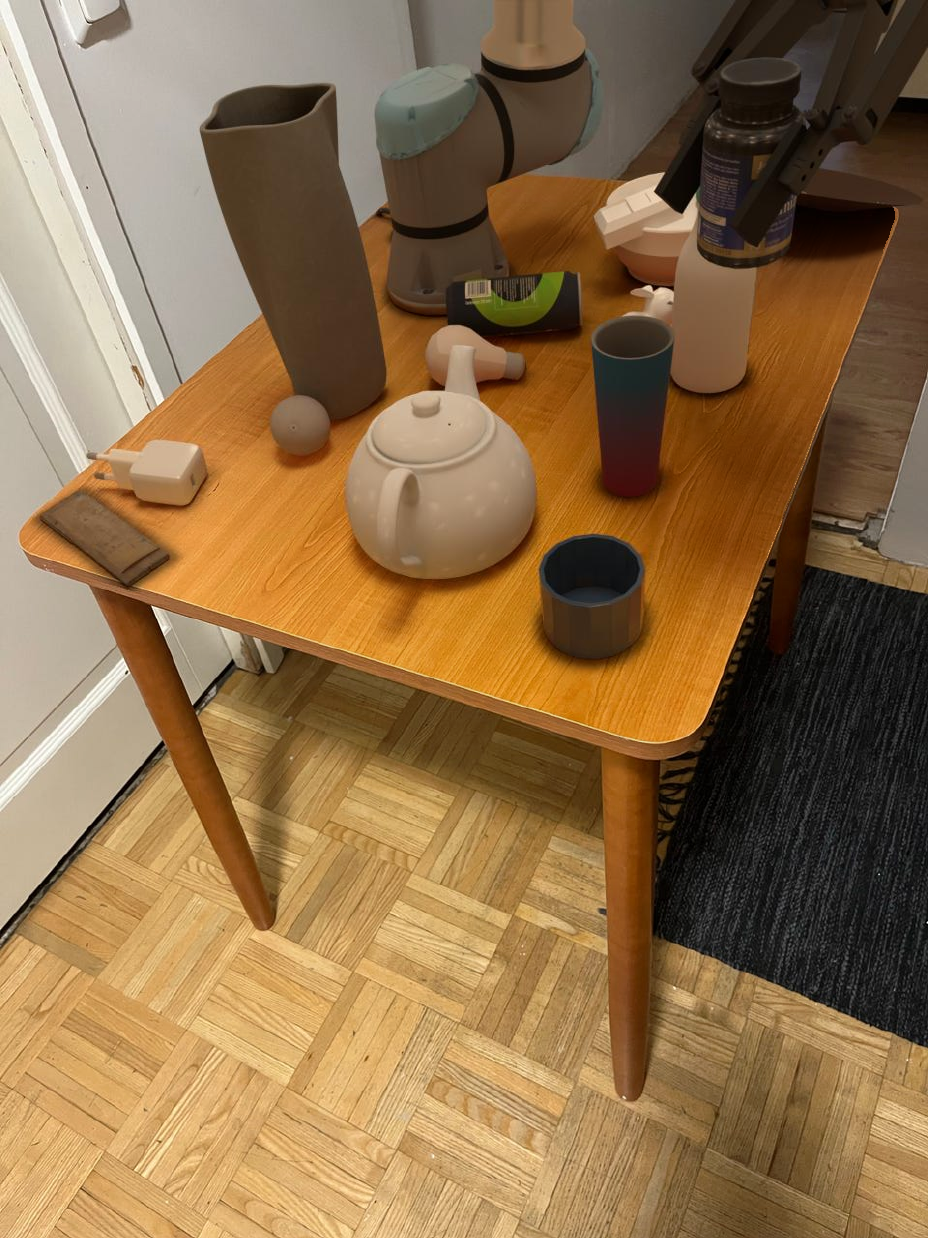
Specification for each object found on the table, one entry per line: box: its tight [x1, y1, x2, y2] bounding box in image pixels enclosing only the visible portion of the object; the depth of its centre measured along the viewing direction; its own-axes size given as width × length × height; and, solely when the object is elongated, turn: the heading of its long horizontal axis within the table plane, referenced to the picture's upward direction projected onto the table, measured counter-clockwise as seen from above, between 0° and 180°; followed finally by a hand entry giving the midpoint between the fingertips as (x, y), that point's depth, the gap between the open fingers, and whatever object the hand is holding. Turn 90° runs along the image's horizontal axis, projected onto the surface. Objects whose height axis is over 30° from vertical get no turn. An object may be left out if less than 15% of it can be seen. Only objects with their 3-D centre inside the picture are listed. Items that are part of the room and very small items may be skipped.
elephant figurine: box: [621, 284, 674, 328], centre depth 101 cm, size 7×12×6 cm
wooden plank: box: [39, 489, 171, 587], centre depth 91 cm, size 17×1×5 cm
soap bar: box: [593, 185, 684, 250], centre depth 107 cm, size 5×9×3 cm, turn 98°
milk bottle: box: [670, 187, 757, 394], centre depth 92 cm, size 8×8×20 cm
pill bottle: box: [697, 58, 807, 269], centre depth 60 cm, size 6×6×11 cm
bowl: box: [605, 171, 698, 287], centre depth 113 cm, size 16×16×8 cm
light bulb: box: [424, 325, 527, 387], centre depth 101 cm, size 7×7×11 cm
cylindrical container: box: [538, 533, 646, 660], centre depth 75 cm, size 8×8×6 cm
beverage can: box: [446, 270, 583, 338], centre depth 107 cm, size 6×6×15 cm
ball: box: [269, 394, 331, 457], centre depth 96 cm, size 6×6×6 cm
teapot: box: [344, 345, 538, 580], centre depth 82 cm, size 19×18×14 cm
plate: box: [796, 167, 924, 213], centre depth 118 cm, size 28×28×4 cm
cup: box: [590, 315, 675, 498], centre depth 83 cm, size 7×7×15 cm
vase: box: [198, 82, 388, 422], centre depth 93 cm, size 12×12×30 cm
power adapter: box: [85, 438, 208, 506], centre depth 95 cm, size 11×5×6 cm
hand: (704, 218), depth 60 cm, fingers closed on pill bottle, 6 cm apart
